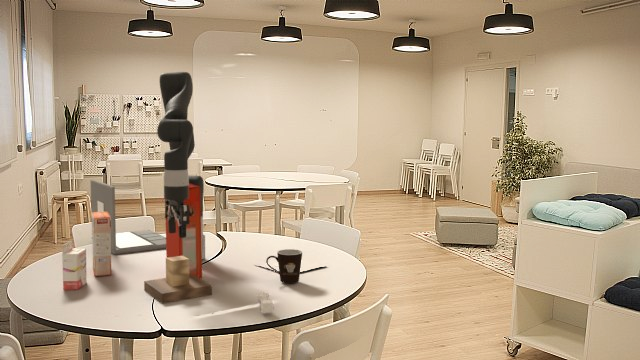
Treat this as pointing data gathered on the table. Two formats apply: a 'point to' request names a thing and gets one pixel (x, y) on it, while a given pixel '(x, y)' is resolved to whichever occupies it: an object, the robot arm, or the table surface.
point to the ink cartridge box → (73, 267)
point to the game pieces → (265, 303)
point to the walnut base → (177, 289)
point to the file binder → (188, 235)
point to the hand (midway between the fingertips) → (177, 235)
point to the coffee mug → (288, 265)
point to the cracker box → (101, 243)
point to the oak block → (177, 271)
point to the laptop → (119, 241)
